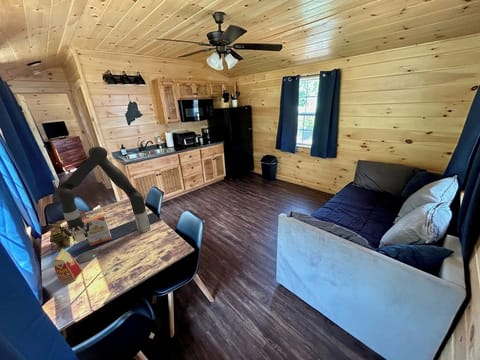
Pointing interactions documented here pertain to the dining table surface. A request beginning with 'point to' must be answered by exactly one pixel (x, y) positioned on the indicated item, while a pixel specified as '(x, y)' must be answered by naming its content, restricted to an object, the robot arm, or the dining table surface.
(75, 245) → the dining table surface
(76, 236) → the cube
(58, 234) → the olive piece
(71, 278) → the milk carton
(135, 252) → the dining table surface
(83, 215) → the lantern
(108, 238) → the cracker box
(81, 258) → the disc
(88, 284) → the dining table surface
